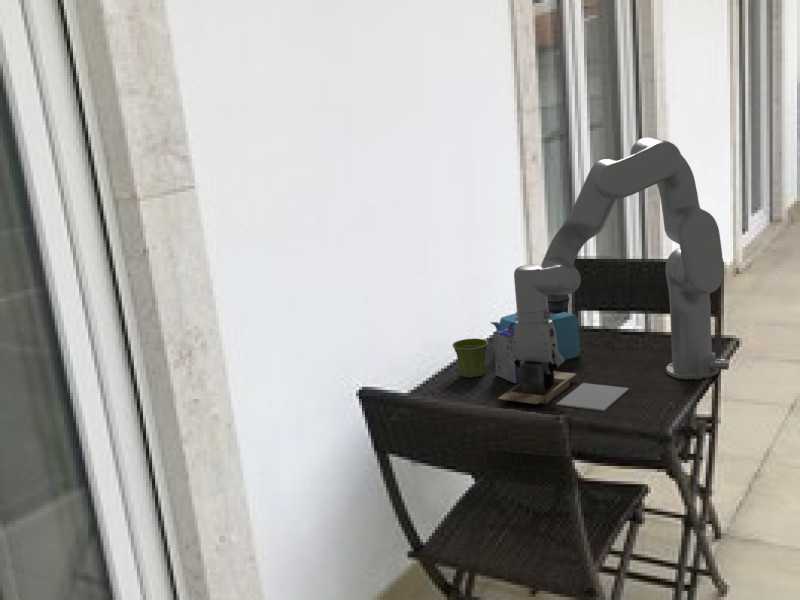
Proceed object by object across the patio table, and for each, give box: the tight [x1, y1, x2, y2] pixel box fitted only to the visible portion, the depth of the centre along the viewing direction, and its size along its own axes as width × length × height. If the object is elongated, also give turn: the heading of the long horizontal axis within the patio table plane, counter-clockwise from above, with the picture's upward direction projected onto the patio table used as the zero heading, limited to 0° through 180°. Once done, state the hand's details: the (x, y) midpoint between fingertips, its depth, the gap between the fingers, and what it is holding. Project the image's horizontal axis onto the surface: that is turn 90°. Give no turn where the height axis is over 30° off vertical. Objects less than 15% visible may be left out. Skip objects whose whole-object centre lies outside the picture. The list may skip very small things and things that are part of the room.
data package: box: [549, 312, 581, 364], centre depth 261 cm, size 12×4×12 cm, turn 112°
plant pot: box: [452, 337, 489, 379], centre depth 256 cm, size 9×9×9 cm
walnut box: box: [519, 358, 556, 396], centre depth 238 cm, size 5×8×8 cm, turn 145°
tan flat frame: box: [497, 370, 577, 405], centre depth 239 cm, size 11×22×2 cm, turn 145°
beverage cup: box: [547, 294, 570, 314], centre depth 279 cm, size 7×7×20 cm
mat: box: [556, 382, 630, 412], centre depth 232 cm, size 12×15×1 cm
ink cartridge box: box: [492, 322, 521, 385], centre depth 250 cm, size 10×6×14 cm, turn 28°
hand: (538, 386), depth 238 cm, fingers closed on walnut box, 5 cm apart
